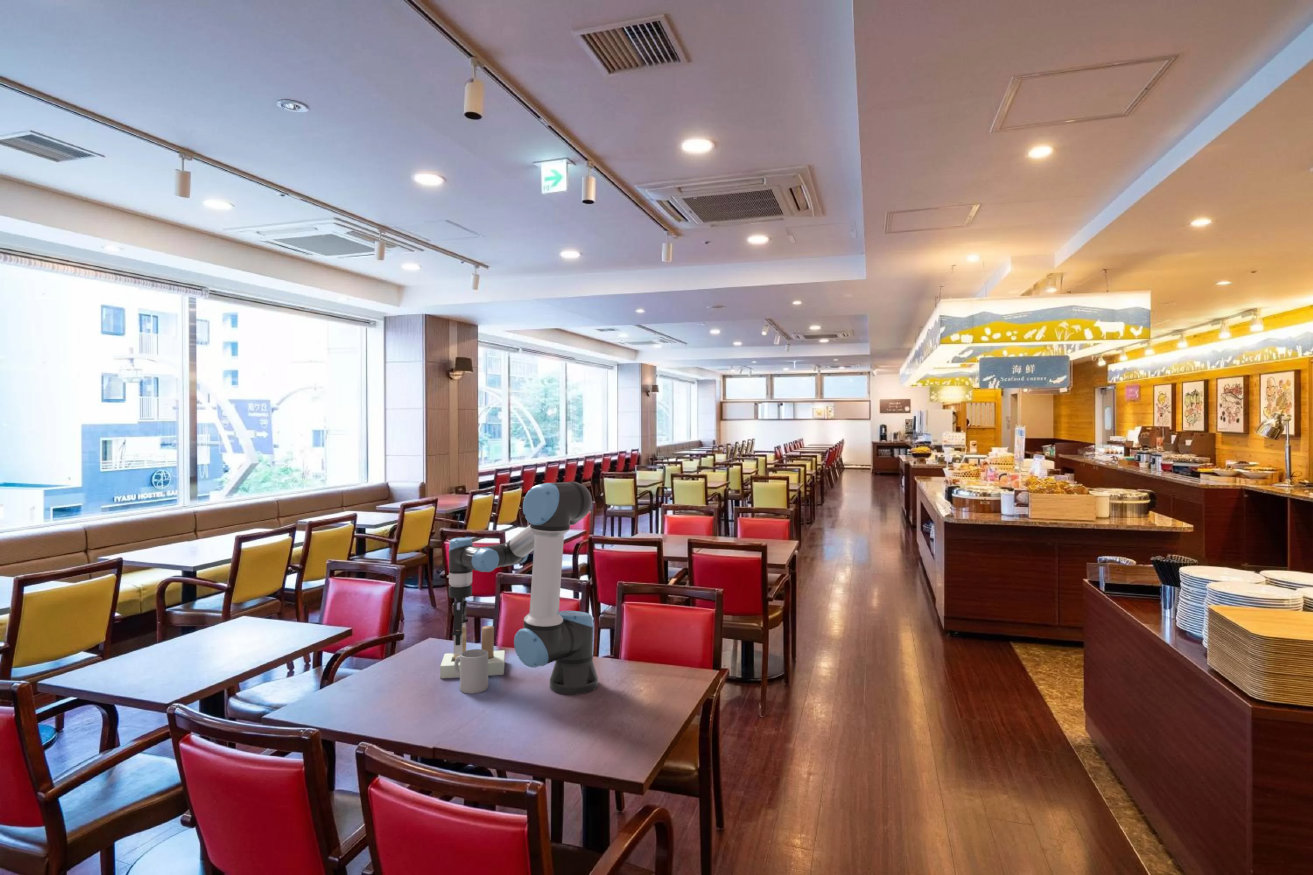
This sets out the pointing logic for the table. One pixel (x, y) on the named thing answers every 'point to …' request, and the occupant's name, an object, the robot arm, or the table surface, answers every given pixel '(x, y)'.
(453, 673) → the cream base with post
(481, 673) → the mug
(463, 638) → the oak leg
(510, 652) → the table surface
